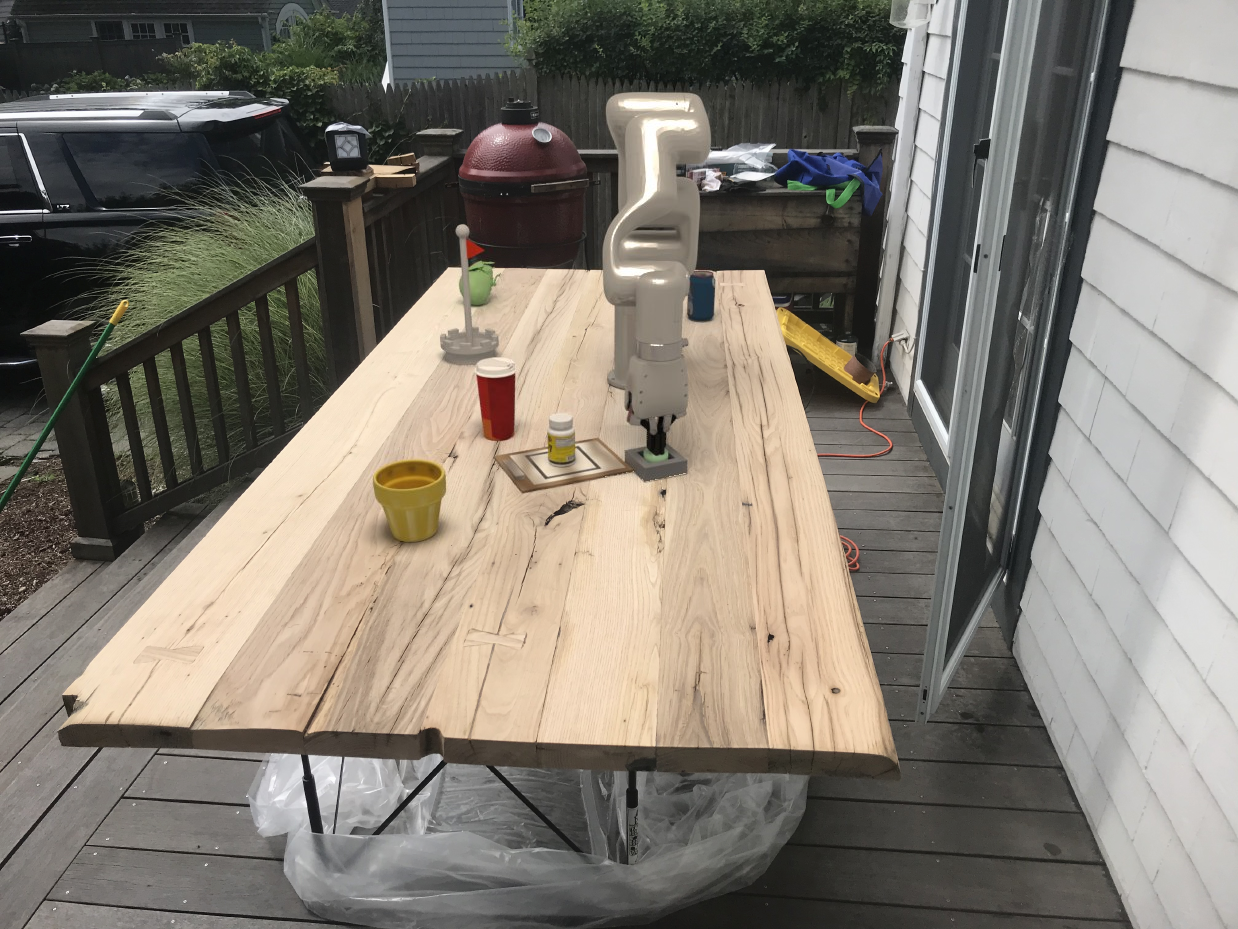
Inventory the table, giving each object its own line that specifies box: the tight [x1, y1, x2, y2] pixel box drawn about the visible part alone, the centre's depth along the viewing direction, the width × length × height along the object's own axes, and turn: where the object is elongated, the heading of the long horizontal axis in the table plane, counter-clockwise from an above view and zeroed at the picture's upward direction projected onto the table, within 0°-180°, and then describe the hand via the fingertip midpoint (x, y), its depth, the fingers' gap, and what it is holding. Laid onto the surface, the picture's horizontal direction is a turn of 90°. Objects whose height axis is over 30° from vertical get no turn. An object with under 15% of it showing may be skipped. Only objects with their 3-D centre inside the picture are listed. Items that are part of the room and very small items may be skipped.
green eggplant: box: [458, 260, 502, 306], centre depth 255 cm, size 12×11×11 cm
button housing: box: [624, 442, 689, 482], centre depth 162 cm, size 8×8×3 cm
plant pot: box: [372, 458, 447, 543], centre depth 141 cm, size 10×10×10 cm
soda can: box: [686, 269, 717, 323], centre depth 242 cm, size 7×7×12 cm
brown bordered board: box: [493, 437, 633, 494], centre depth 164 cm, size 20×15×1 cm
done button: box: [644, 448, 668, 463], centre depth 162 cm, size 4×4×3 cm
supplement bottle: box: [546, 412, 576, 467], centre depth 162 cm, size 5×5×8 cm
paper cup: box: [473, 356, 518, 442], centre depth 173 cm, size 8×8×14 cm
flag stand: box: [439, 223, 500, 367], centre depth 210 cm, size 13×13×30 cm
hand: (656, 452), depth 161 cm, fingers closed
